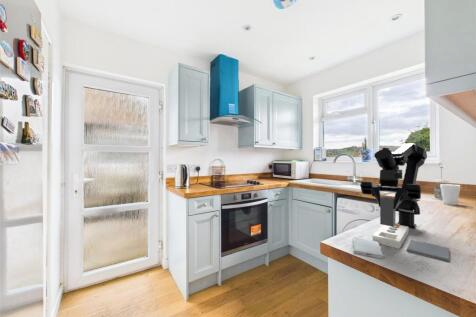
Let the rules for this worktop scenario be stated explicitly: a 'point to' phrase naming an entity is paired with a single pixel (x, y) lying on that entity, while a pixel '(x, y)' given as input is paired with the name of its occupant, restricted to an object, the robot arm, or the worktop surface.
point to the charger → (387, 211)
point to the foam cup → (450, 193)
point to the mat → (429, 250)
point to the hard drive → (367, 248)
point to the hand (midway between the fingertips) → (387, 207)
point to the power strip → (391, 235)
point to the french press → (439, 188)
